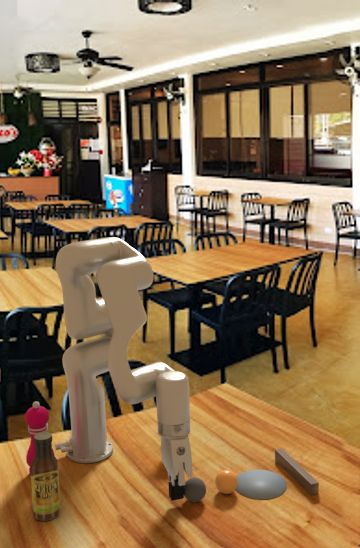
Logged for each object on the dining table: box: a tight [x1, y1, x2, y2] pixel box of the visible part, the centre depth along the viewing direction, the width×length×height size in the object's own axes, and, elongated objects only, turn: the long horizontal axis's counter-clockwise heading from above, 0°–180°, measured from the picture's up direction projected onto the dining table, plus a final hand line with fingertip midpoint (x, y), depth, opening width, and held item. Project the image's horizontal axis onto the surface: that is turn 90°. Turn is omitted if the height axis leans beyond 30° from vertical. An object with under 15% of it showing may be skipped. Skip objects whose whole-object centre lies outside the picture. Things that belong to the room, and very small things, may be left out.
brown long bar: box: [274, 447, 320, 496], centre depth 153 cm, size 2×18×3 cm, turn 19°
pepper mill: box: [24, 401, 56, 478], centre depth 156 cm, size 7×7×20 cm
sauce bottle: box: [30, 431, 61, 522], centre depth 138 cm, size 6×6×20 cm
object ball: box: [214, 469, 238, 495], centre depth 146 cm, size 6×6×6 cm
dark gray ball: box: [184, 477, 207, 503], centre depth 143 cm, size 6×6×6 cm
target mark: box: [235, 469, 288, 500], centre depth 150 cm, size 13×13×1 cm
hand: (176, 497), depth 142 cm, fingers closed
